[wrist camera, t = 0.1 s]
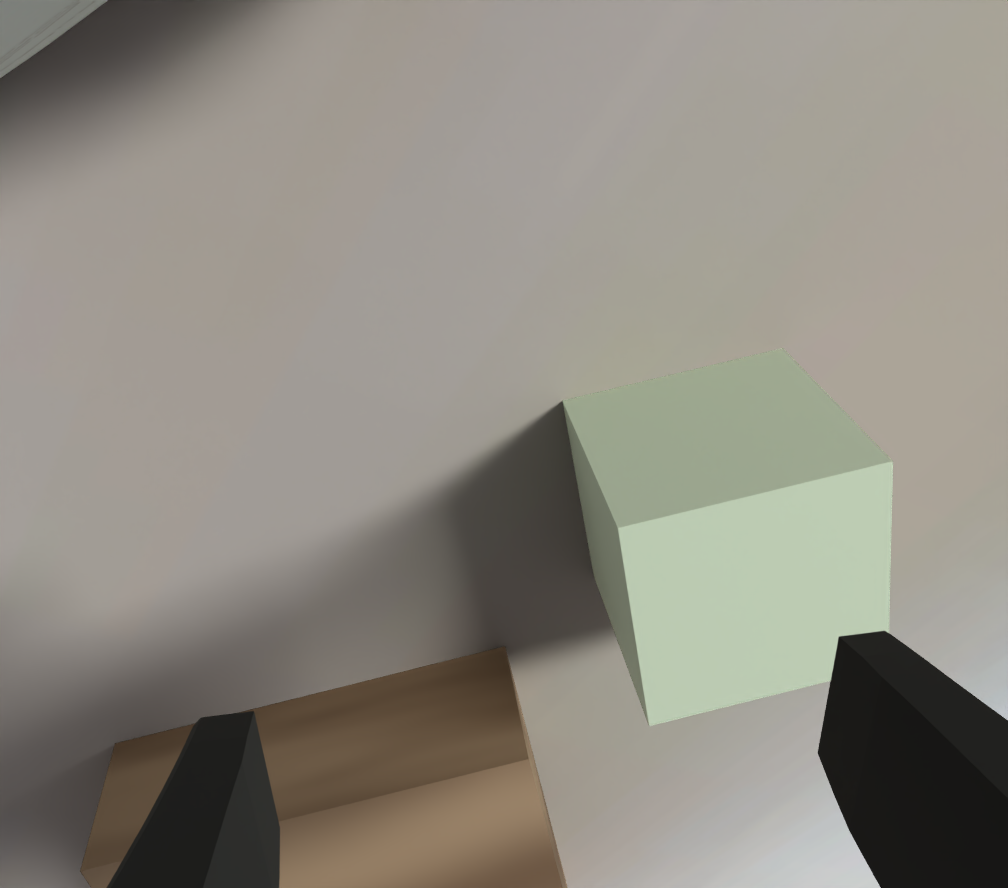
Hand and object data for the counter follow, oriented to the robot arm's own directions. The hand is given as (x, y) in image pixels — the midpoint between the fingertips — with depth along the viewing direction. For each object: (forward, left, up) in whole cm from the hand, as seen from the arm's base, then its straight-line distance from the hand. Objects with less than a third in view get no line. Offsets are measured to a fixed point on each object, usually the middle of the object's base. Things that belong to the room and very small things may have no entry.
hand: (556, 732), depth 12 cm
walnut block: (-12, +6, -10) cm, 17 cm away
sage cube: (-3, -4, -10) cm, 12 cm away
